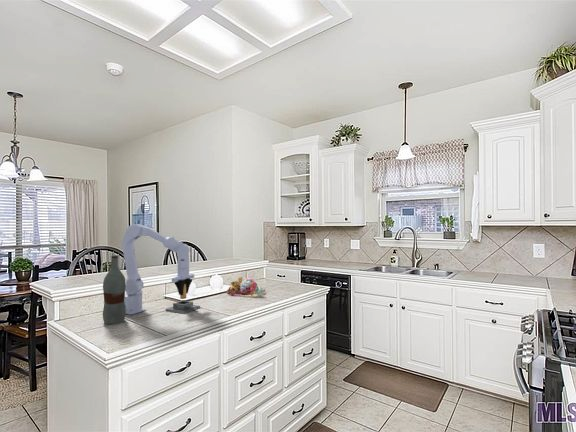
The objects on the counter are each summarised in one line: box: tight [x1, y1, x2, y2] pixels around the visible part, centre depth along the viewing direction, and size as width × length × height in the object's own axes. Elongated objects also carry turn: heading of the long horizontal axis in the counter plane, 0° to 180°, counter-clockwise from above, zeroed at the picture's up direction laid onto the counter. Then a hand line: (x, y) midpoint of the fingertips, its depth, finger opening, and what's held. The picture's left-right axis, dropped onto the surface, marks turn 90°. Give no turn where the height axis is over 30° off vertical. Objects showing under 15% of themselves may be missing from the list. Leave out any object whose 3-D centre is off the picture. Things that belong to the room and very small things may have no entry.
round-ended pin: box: [179, 284, 187, 300], centre depth 170 cm, size 3×3×7 cm
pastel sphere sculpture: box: [226, 276, 267, 298], centre depth 209 cm, size 25×24×9 cm
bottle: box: [102, 255, 127, 326], centre depth 150 cm, size 9×9×30 cm
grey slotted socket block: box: [165, 299, 201, 315], centre depth 170 cm, size 12×14×4 cm
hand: (183, 294), depth 170 cm, fingers closed on round-ended pin, 3 cm apart
